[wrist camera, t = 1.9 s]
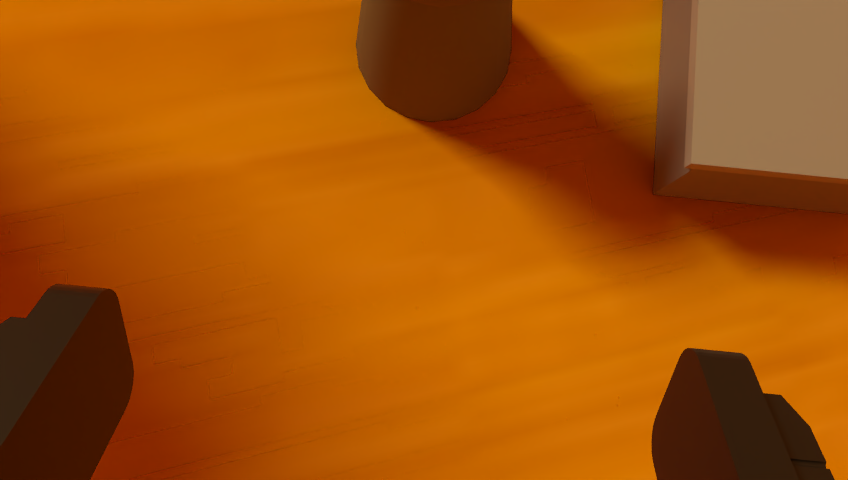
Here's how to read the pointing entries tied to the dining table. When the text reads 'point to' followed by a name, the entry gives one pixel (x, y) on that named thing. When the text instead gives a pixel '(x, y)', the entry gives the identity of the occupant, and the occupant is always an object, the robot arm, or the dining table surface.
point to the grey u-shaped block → (754, 103)
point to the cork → (434, 54)
